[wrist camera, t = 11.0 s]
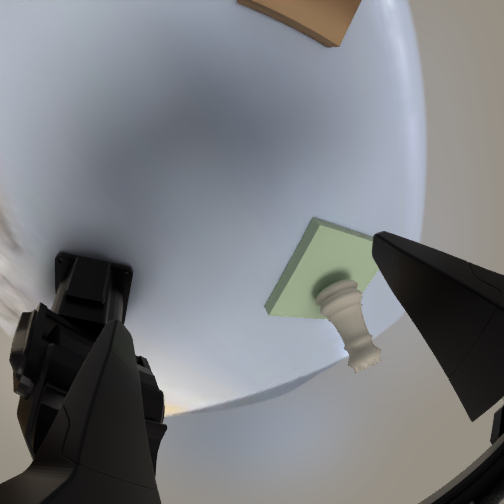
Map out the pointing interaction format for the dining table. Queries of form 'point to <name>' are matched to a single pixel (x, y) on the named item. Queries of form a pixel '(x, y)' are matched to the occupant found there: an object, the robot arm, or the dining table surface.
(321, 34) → the walnut block
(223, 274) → the dining table surface
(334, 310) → the rook chess piece
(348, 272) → the sage block
